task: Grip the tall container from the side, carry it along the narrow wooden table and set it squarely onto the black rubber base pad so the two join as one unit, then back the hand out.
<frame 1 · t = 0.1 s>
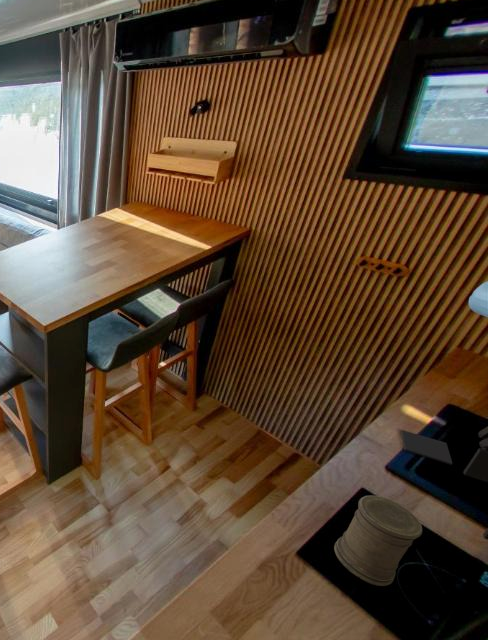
hand: (486, 507, 61), 31 cm above the worktop, tool pointing down, fingers open, 13 cm apart
container: (361, 563, 80), on the worktop
base pad: (424, 448, 100), on the worktop
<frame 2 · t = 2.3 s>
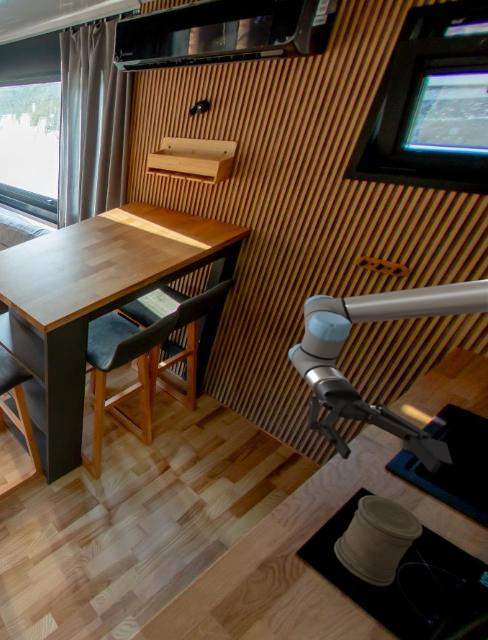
hand: (390, 461, 75), 25 cm above the worktop, tool horizontal, fingers open, 13 cm apart
nothing on the worktop moved.
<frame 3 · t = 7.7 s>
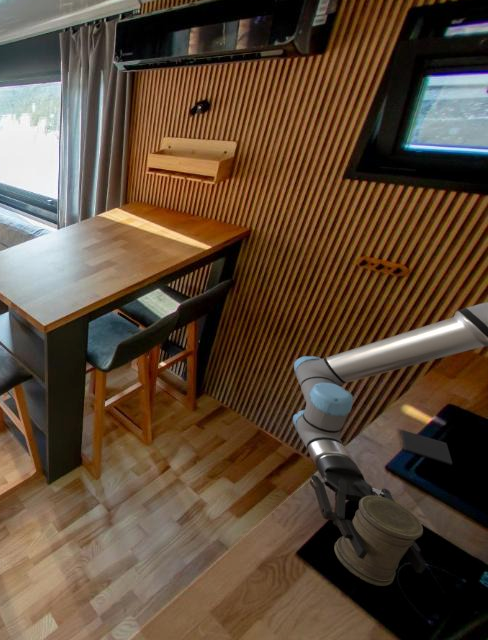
hand: (391, 561, 72), 10 cm above the worktop, tool horizontal, fingers closed on container, 8 cm apart
container: (361, 563, 80), on the worktop, touching gripper
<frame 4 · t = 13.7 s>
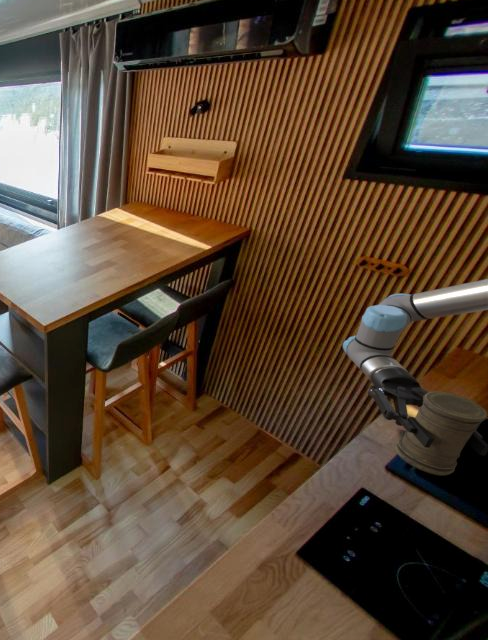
hand: (456, 447, 78), 22 cm above the worktop, tool horizontal, fingers closed on container, 8 cm apart
container: (422, 459, 87), point 12 cm above the worktop, touching gripper
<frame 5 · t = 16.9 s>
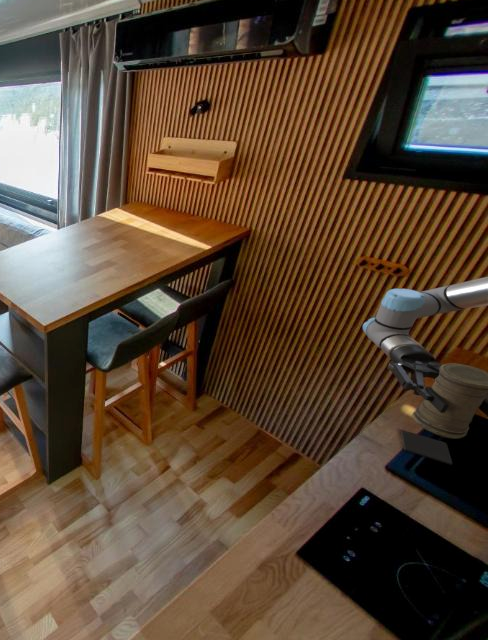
hand: (469, 411, 88), 19 cm above the worktop, tool horizontal, fingers closed on container, 8 cm apart
container: (437, 425, 96), point 9 cm above the worktop, touching gripper
when the fingers open (11 cm above the worktop, at t = 19.6 s): container stays where it is, resting on base pad.
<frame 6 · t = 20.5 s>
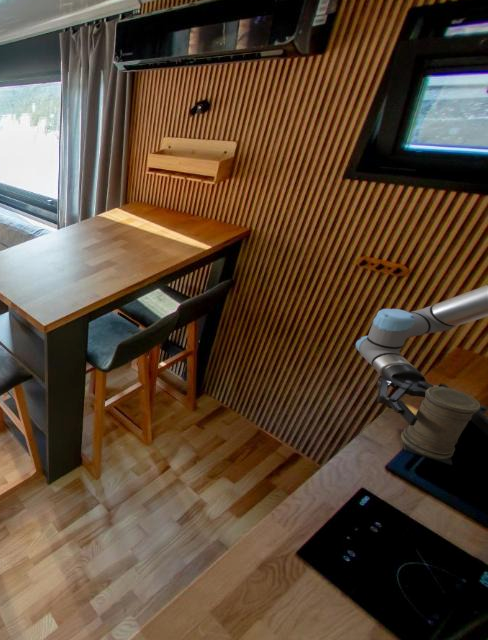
hand: (451, 426, 92), 12 cm above the worktop, tool horizontal, fingers open, 13 cm apart
container: (425, 445, 99), point 1 cm above the worktop, touching base pad
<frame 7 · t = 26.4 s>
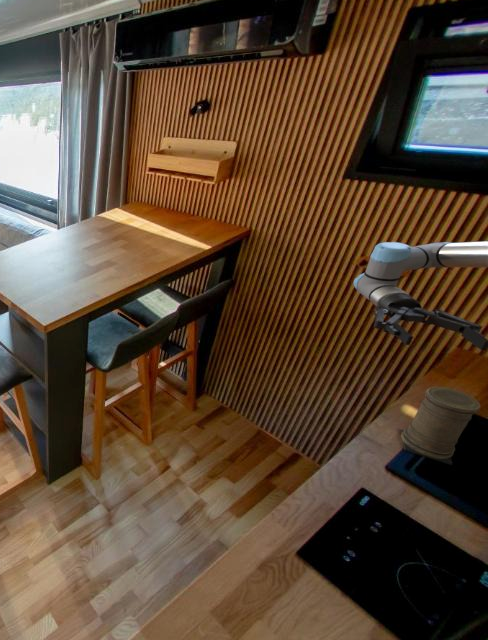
hand: (446, 343, 94), 30 cm above the worktop, tool horizontal, fingers open, 13 cm apart
nothing on the worktop moved.
at the end: container 0.1 cm off-centre on the base pad, point 0.8 cm above the base pad's base; container tilted 0°; the gripper is holding nothing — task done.
